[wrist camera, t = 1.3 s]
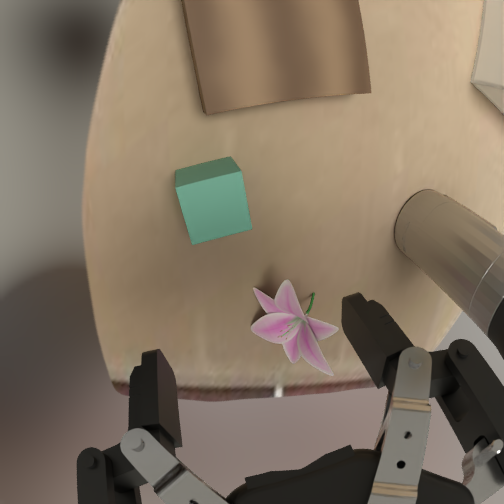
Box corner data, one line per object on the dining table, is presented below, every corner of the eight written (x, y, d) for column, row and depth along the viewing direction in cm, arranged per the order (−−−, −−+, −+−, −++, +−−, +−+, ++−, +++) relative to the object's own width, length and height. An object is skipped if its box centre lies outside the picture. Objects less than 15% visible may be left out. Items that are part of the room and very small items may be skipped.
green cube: (230, 156, 27) (241, 170, 22) (240, 206, 29) (252, 229, 25) (175, 170, 26) (175, 187, 22) (189, 219, 29) (192, 244, 25)
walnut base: (326, -37, 18) (346, -49, 15) (348, 90, 26) (371, 93, 22) (175, -29, 17) (175, -46, 13) (203, 111, 24) (206, 115, 21)
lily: (281, 233, 33) (258, 298, 26) (370, 282, 34) (369, 351, 26) (242, 296, 41) (217, 354, 34) (317, 333, 42) (305, 393, 34)
